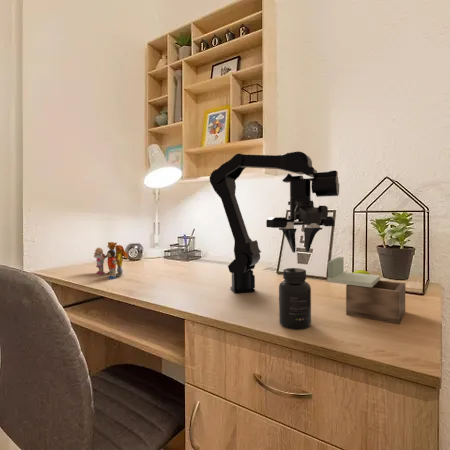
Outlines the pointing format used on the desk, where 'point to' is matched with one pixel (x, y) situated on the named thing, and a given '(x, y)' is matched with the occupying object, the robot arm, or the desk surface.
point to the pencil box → (377, 301)
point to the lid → (348, 275)
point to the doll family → (111, 259)
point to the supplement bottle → (294, 299)
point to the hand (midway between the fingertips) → (300, 252)
